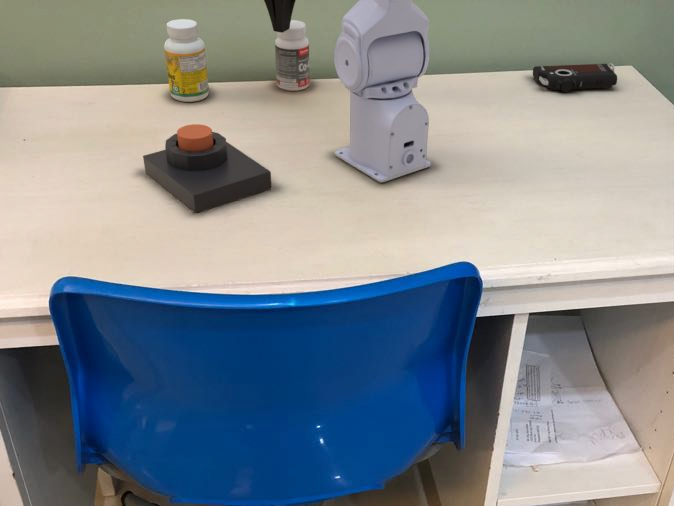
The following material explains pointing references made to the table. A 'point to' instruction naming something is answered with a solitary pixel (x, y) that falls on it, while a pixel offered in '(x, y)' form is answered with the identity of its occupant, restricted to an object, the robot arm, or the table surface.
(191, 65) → the supplement bottle
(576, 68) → the camera
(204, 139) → the orange push button
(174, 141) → the block
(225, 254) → the table surface
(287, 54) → the pill bottle
